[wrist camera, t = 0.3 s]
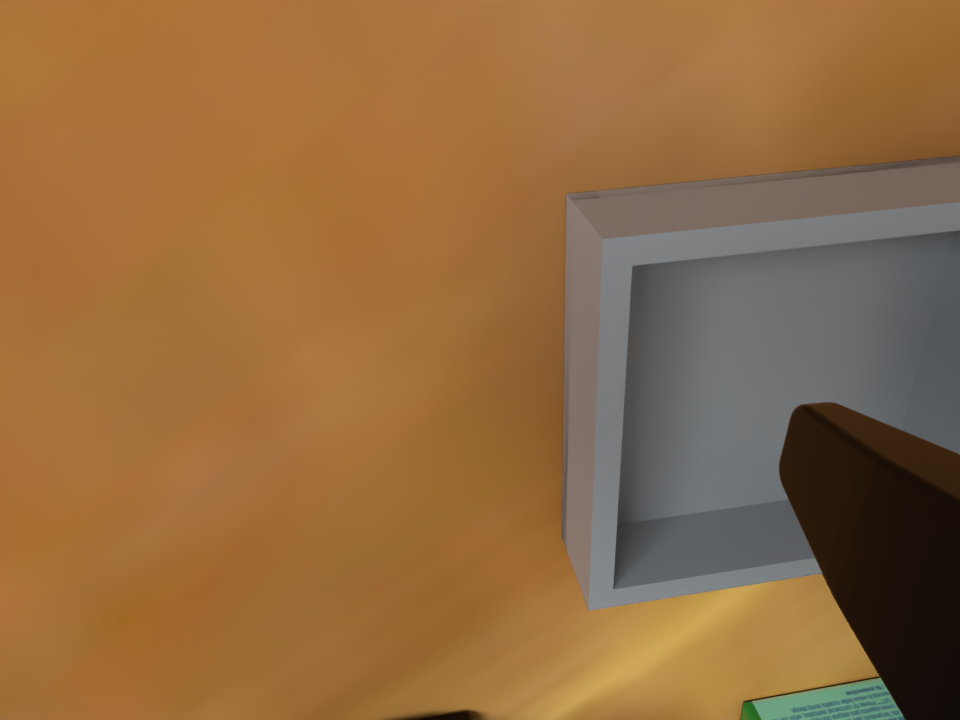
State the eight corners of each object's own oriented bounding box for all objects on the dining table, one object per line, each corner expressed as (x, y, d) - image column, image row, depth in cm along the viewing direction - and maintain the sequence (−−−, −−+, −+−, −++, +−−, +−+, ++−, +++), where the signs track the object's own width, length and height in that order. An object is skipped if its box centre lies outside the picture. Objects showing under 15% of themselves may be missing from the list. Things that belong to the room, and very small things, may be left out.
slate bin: (890, 488, 31) (951, 552, 28) (562, 537, 29) (588, 611, 26) (985, 153, 24) (1079, 189, 21) (566, 193, 22) (602, 239, 20)
